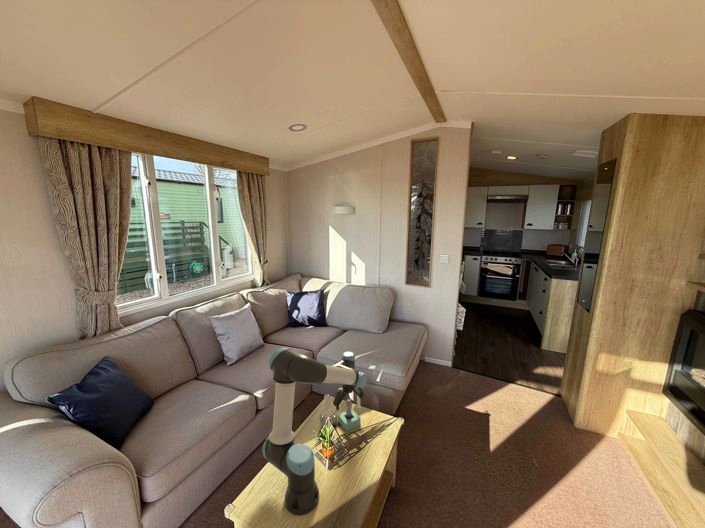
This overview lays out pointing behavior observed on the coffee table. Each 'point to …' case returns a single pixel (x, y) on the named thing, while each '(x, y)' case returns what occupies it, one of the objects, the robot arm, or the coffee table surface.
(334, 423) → the short steel pin
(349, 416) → the long steel pin
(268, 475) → the coffee table surface
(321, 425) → the medium steel pin
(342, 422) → the teal collar block
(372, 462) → the coffee table surface
